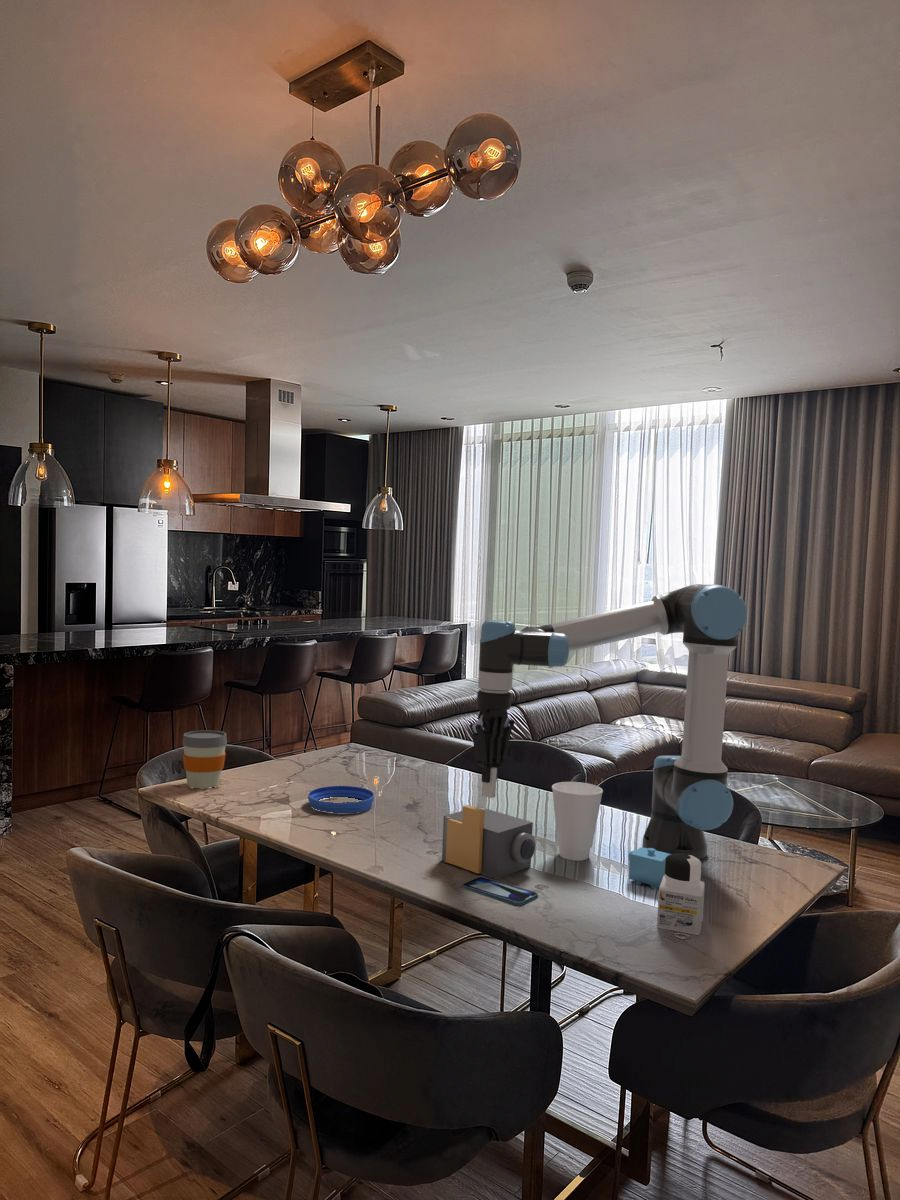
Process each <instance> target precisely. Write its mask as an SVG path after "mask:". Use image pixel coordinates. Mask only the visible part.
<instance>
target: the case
mask: <svg viewBox="0 0 900 1200" xmlns="http://www.w3.org/2000/svg"><path fill="white" fill-rule="evenodd" d="M475 807H476V808H480V809H483V810H485V819H484V829H483V843H482V866H481V873H479V874H480V875H484V876H487V878H488V877H489V878H490V879H493V880H498V879H501V878H504V877H507V876H509V875H512V874H514V873H515V874H516V873H517V872H520V871H522V870H525V869H529V868H531V867H532V866H531V864H532V858H533V856H534V854H535V851H536V839H535V836H534V835H533V827H534V826H533V823H534V822H532V821H529V820H526V819H524V818H523V819H522V818H519V817H516V816H513V815H508V814H505V813H502V812H499V811H495V810H492V809H489V808H485V807H481V806H475ZM462 813H463V810H459V811H457V812H453V813H450V814H449V813H448V814H445V815H444V816H443V828H442V829H443V830H442V852H441V853H442V854H441V859H442V861H443V858H444V835H445V817H451V819H454V820H457V821H461V822H462Z"/></svg>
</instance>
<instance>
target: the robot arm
mask: <svg viewBox="0 0 900 1200" xmlns="http://www.w3.org/2000/svg"><path fill="white" fill-rule="evenodd" d="M747 609H748V608H747V606H746V602H745V601H744V599H743V598H742V596H741V595H740V594H739V593H738V592H737V591H736V590H734V589H732V588H730V587H728V586H724V585H722V584H717V583H715V584H700V583H699V584H690V585H687V586H683V587H681V588H678V589H676V590H673V591H670V592H669V591H668V592H665V593H663V594H658V595H657V594H656V595H654V596H653V597H652V599H651V600H650V601H646V602H645V601H644V602H642V603H637V604H632V605H628V606H624V607H619V608H616V609H610V610H606V611H601V612H596V613H593V614H589V615H585V616H580V617H575V618H571V619H567V620H561V621H557V622H552V623H549V624H545V625H540V626H535V627H534V626H529V627H525V628H523V629H521V630H517V628H516V624H515V622H513V621H508V620H507V621H506V620H493V619H492V620H485V621H484V622H482V625H481V631H480V640H479V659H478V661H479V662H478V663H479V664H478V666H479V667H478V679H477V681H478V682H477V688H478V691H477V695H476V707H478V709H479V713H478V715H477V720H476V722H471V723H470V724H469V729H470V731H471V733H472V734H471V735H472V743H473V751H474V761H475V765H477V766H479V767H481V769H482V770H481V782H482V784H481V785H482V786H481V796H483V797H486V798H489V799H492V798H496V794H497V793H496V792H497V791H496V790H497V781H498V772H499V771H498V770H499V768H501V769H502V768H503V764H504V763H505V762H506V758H507V753H508V749H509V745H510V744H509V743H510V739H511V733H512V731H513V727H514V726H515V720H514V719H510V718H509V714H508V710H510V709H511V705H512V693H511V692H510V691H511V690H513V673H514V672H513V669H514V665H518V666H521V665H522V666H534V667H535V666H539V667H550V668H553V667H556V668H557V667H558V668H559V667H561V668H562V667H564V666H566V664H567V663H568V660H569V653H571V652H574V651H578V650H579V651H580V650H583V649H589V648H592V647H597V646H603V645H606V644H611V643H615V642H616V643H617V642H620V641H624V640H625V641H626V640H629V639H632V638H638V637H643V636H646V635H650V634H651V635H652V634H655V633H659V634H660V635H662V636H666V635H671V634H677V633H679V634H680V633H682V644H683V645H684V646H685V647H686V648H687V651H688V660H687V661H688V663H687V676H686V687H685V689H686V691H685V705H684V720H683V729H682V730H683V731H682V732H683V734H682V745H681V755H659V756H656V758H655V759H654V762H653V768H652V771H653V772H652V773H653V775H652V794H651V795H652V797H651V813H650V814H651V815H650V818H649V821H648V824H647V827H646V828H645V831H644V834H643V837H642V846H641V847H643V848H647V849H648V848H653V849H655V850H656V851H660V852H664V853H668V854H674V853H683V854H689V855H692V856H694V857H696V858H698V859H699V860H700V861H701V860H703V859H705V858H706V857H707V856H708V844H707V843H708V842H707V839H706V836H705V833H704V831H709V830H714V829H717V828H720V827H721V826H722V825H723V824H724V823H726V822H727V821H728V819H729V818H730V816H731V815H732V812H733V810H734V798H733V795H732V793H731V791H730V789H729V788H728V786H727V785H728V774H729V773H728V770H729V769H728V767H727V766H726V765H725V763H724V762H723V761H722V755H723V754H722V753H723V740H724V739H723V738H724V725H725V711H726V700H727V699H726V697H727V682H728V670H729V660H730V659H729V657H730V656H729V655H730V653H732V652H733V651H734V650H735V649H736V648H737V645H738V635H739V634H740V633H741V631H742V630H744V627H745V625H746V622H747V620H748V619H747V618H748V610H747Z"/></svg>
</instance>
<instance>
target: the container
mask: <svg viewBox="0 0 900 1200" xmlns="http://www.w3.org/2000/svg"><path fill="white" fill-rule="evenodd" d="M701 873H702V862H701V860H699V859H698V858H696V857H694V856H692V855H689V854H683V853H674V854H671V855H668V856H667V857H666V859H665V875H664V876H663V879H662V882H661V884H660V887H658V897H657V898H658V900H657V919H656V926H657V928H658V929H663V930H668V931H674V932H679V933H684V934H688V935H689V934H690V935H695V936H699V935H700V934H701V930H702V925H703V924H702V923H703V918H704V916H703V915H704V901H705V899H704V898H705V881H703V880H701V879H702V878H701V876H702V874H701Z"/></svg>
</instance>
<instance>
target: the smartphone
mask: <svg viewBox="0 0 900 1200" xmlns="http://www.w3.org/2000/svg"><path fill="white" fill-rule="evenodd" d="M461 887H462V888H463V889H467V890H468V891H469V890H470V891H472V892H476V893H478V894H480V895H484V896H486V897H490V898H493V899H496V900H499V901H501V902H504V903H507V904H512V905H514V906H518V907H519V906H523V905H525V904H527V903H529V902H531V901H534V900H535V899H537V898H538V897H539V896H538V895H539V894H538V892H536V891H533V890H530V889H527V888H522V887H520V886H515V885H513V884H509V883H506V882H503V881H499V880H497V879H493V878H490V877H489V878H488V877H485V876H477V877H475V878H473V879H470V880H467V881H465V882H463V883H461Z"/></svg>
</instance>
